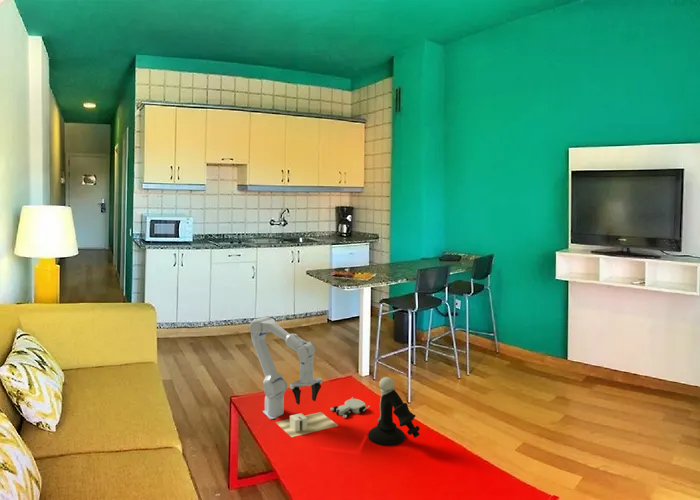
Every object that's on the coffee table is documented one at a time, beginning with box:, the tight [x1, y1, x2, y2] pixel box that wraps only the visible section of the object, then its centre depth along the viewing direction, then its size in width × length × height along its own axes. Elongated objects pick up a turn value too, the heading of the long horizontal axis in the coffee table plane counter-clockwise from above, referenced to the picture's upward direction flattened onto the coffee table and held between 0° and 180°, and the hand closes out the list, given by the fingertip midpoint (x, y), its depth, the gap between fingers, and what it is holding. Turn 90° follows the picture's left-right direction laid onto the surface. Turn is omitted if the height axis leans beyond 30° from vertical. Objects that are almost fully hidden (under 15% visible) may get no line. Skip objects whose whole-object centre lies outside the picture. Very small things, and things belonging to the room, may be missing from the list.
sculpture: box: [367, 376, 420, 447], centre depth 210 cm, size 15×24×25 cm, turn 46°
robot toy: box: [330, 396, 371, 419], centre depth 237 cm, size 12×4×15 cm
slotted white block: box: [289, 413, 307, 432], centre depth 218 cm, size 5×5×5 cm
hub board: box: [275, 411, 339, 438], centre depth 223 cm, size 16×22×4 cm
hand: (305, 401), depth 225 cm, fingers open, 7 cm apart
